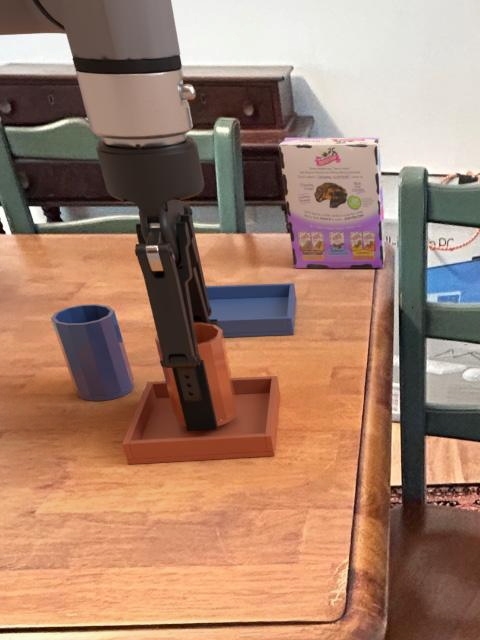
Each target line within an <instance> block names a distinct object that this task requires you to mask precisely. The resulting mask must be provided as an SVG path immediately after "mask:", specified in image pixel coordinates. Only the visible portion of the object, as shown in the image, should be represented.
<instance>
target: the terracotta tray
mask: <svg viewBox="0 0 480 640" xmlns="http://www.w3.org/2000/svg"><path fill="white" fill-rule="evenodd" d="M232 383H233V388H234V393H235V398H236V403H237V405H236V408H237V415H236V416H235V418H234V419H233V420H231V421H230V422H228V423H226V424H224V425H221V426H218V427H217V430H200V431H187V428H186V427H185V426H183V425H181V424H179V423H178V421H177V420H176V416H175V415H174V412H173V408H172V404H171V400H170V396H169V392H168V388H167V384H166V380H161V381H160V380H157V381H156V380H155V381H147V383H146V385H145V387H144V391H143V392H142V394H141V396H140V399H139V402H138V404H137V407H136V409H135V411H134V414H133V416H132V418H131V421H130V423H129V426H128V428H127V431H126V434H125V435H124V438H123V441H122V443H121V445H122V448H123V452H124V455H125V458H126V462H127V464H128V465H139V464H157V463H160V464H161V463H174V462H175V463H176V462H193V461H208V460H210V461H211V460H227V459H244V458H260V457H261V458H262V457H274V456H275V453H276V444H277V443H276V442H277V433H278V432H277V431H278V423H279V410H280V398H281V391H280V383H279V378H278V376H277V375H272V376H271V375H268V376H267V375H265V376H246V377H244V376H243V377H232Z"/></svg>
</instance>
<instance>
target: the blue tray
mask: <svg viewBox="0 0 480 640" xmlns="http://www.w3.org/2000/svg"><path fill="white" fill-rule="evenodd" d="M295 287H296V286H295V283H293V282H291V283H260V284H259V283H257V284H256V283H255V284H227V285H206V290H207V295H208V299H209V304H210V307H211V309H212V313H211V316H209V319H217V320H218V327H219V328H220V329H222V331H223V336H224V339H226V338H247V337H249V338H251V337H270V336H271V337H272V336H273V337H274V336H275V337H276V336H293V335H295V320H296V309H297V308H296V307H297V306H296V305H297V295H296V293H297V292H296V288H295Z"/></svg>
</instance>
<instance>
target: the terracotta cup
mask: <svg viewBox="0 0 480 640" xmlns="http://www.w3.org/2000/svg"><path fill="white" fill-rule="evenodd" d="M194 326H195V332H196V338H197V344H198V351H199V355H200V357H201V360H204V365H205V369H206V374H207V379H208V383H209V388H210V393H211V398H212V402H213V407H214V412H215V416H216V421H217V427H218V426H221V425H224V424H226V423H228V422H230V421H231V420H233V419H234V418H235V416H236V415H237V408H236V405H237V403H236V398H235V393H234V388H233V383H232V378H233V377H232V373H231V367H230V362H229V356H228V351H227V347H226V342H225V338H224V336H223V331H222V329H220V328H219V327H217V326H216V325H213V324H207V323H201V322H200V323H194ZM154 341H155V345H156V350H157V353H158V356H159V362H160V361H161V360H163V356H162V352H161V348H160V344H159V340H158V335H157V334H156V336H155V337H154ZM161 368H162V373H163V377H164V381H166V384H167V388H168V392H169V396H170V400H171V404H172V408H173V412H174V415H175V416H176V420H177V421H178V423H179V424H181V425H183V426H185V427H186V423H185V419H184V415H183V411H182V407H181V403H180V399H179V395H178V391H177V387H176V383H175V378H174V374H173V370H172V368H166V367H162V366H161Z"/></svg>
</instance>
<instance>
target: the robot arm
mask: <svg viewBox="0 0 480 640" xmlns="http://www.w3.org/2000/svg"><path fill="white" fill-rule="evenodd" d="M177 33H178V32H177V27H176V20H175V15H174V10H173V3H172V0H0V36H13V35H16V36H17V35H37V34H38V35H39V34H63V35H66V39H67V42H68V45H69V49H70V53H71V56H72V62H73V66H74V69H75V74H76V78H77V82H78V87H79V90H80V94H81V98H82V102H83V106H84V110H85V115H86V118H87V121H88V125H89V129H90V130H89V131H90V132H91V133H92V134H93V135H95V136H97V137H100V139H101V140H99V141H98V143H97V146H96V147H95V150H96V155H97V158H98V161H99V162H98V163H99V164H100V169H101V173H102V177H103V181H104V184H105V188H106V191H107V193H108V194H109V195H110V196H111V197H113V198H114V199H115V200H119V201H122V202H128V201H129V202H131V203H133V204H135V205H136V206H137V209H138V218H139V223H136V224H135V231H136V237H137V242H138V243H136V244H135V249H134V254H135V256H136V259H137V261H138V264H139V268H140V270H141V274H142V276H143V280H144V284H145V289H146V293H147V297H148V302H149V305H150V309H151V313H152V319H153V322H154V326H155V332H156V335H158V340H159V344H160V348H161V352H162V356H163V360H161V361H160V360H159V364H160V366H161V368H162V367H166V368H172V370H173V374H174V378H175V383H176V387H177V391H178V395H179V399H180V403H181V407H182V411H183V415H184V419H185V423H186V428H187V431H200V430H217V421H216V416H215V412H214V407H213V402H212V398H211V393H210V388H209V383H208V379H207V374H206V369H205V365H204V360H201V357H200V355H199V351H198V344H197V338H196V332H195V326H194V323H200V322H201V323H207V324H213V325H216V326H217V327H218V320H217V319H209V316H211V313H212V309H211V307H210V304H209V299H208V295H207V290H206V286H207V285H206V281H205V276H204V272H203V266H202V262H201V261H202V260H201V257H200V251H199V247H198V241H197V238H196V232H195V225H194V219H193V214H194V213H193V208H191V205H190V203H183V202H182V201H183V200H187V199H191V198H193V197H196V196H198V195H199V194H201V193H202V192H203V191H204V188H205V179H204V174H203V168H202V164H201V158H200V153H199V147H198V143H197V142H196V141H195V140H194V138H193V137H191V136H188V135H187V134H188V133H189V132H191V130H192V129H193V127H194V125H193V119H192V114H191V107H190V103H189V101H191V100H195V98H196V95H197V94H196V90H195V88H194V86H193V85H192V84H190V83H185V84H184V79H185V78H184V77H185V75H184V71H183V64H182V60H181V56H180V55H181V50H180V44H179V38H178V34H177Z"/></svg>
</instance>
